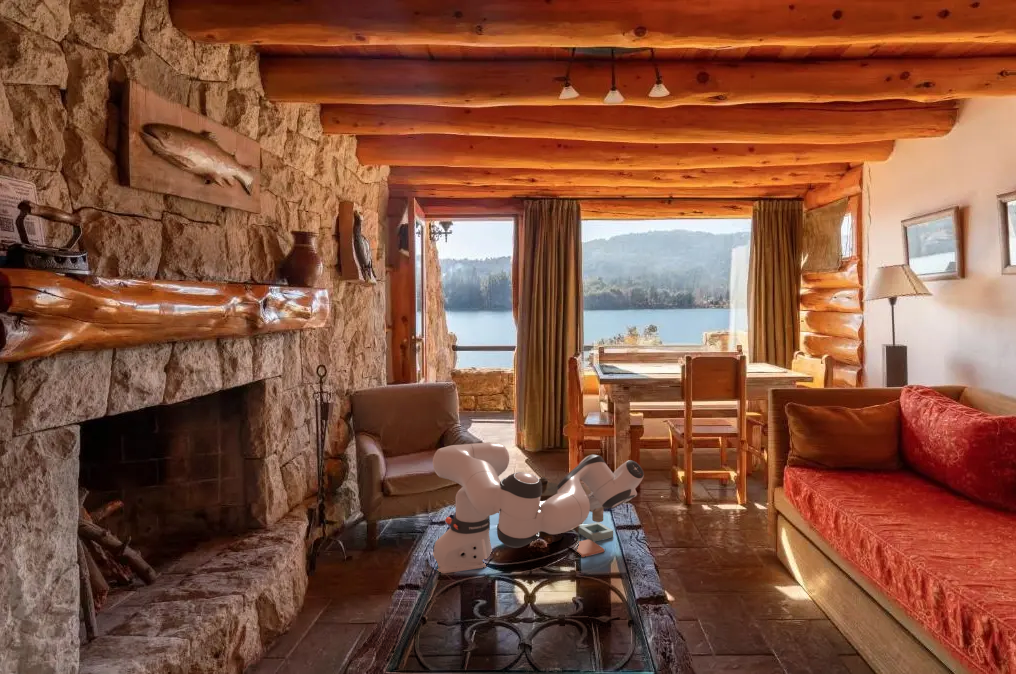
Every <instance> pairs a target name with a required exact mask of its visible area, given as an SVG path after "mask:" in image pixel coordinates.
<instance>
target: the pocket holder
mask: <svg viewBox="0 0 1016 674" xmlns="http://www.w3.org/2000/svg"><path fill="white" fill-rule="evenodd" d="M597 530H598V531H597ZM578 534H579V535H581V536H582V535H583V536H582V537H584V538H585V539H586V540H587V539H590V540H591V541H593V542H594V543H596V542H600V541H603V539H604V540H607V539H610V538H611V537H612V538H614V530H613V529H611V528H610V527H608V526H606V525H604V524H603V523H602V522H592V523H587V524H583V525H579V526H578Z"/></svg>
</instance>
